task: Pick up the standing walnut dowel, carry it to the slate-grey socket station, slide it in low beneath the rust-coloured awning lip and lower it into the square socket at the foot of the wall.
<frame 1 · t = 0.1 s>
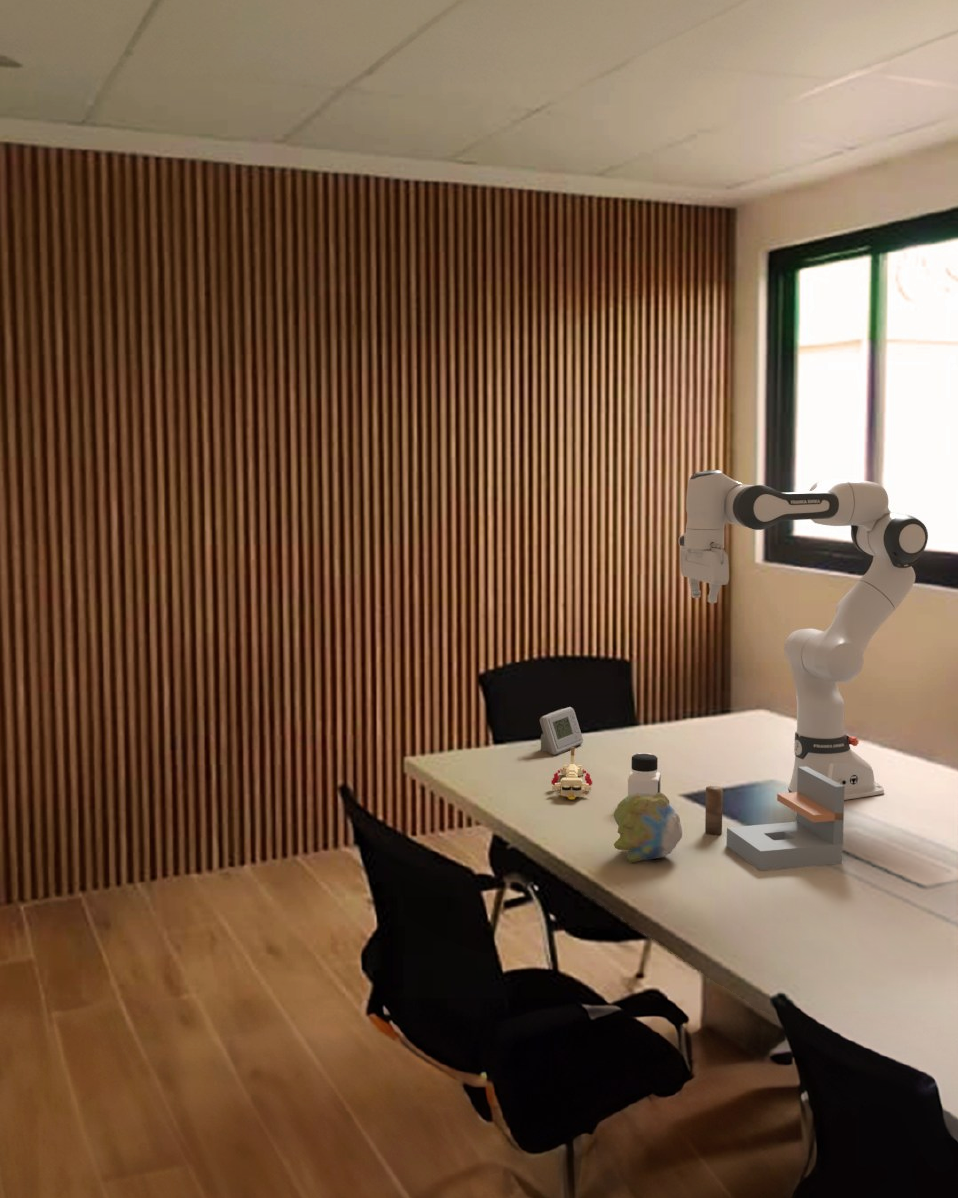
hand: (704, 600, 298), 48 cm above the table, fingers open, 8 cm apart
digital clock: (561, 750, 354), on the table
relief earth globe: (640, 858, 264), on the table
station: (778, 854, 265), on the table
cream toy figure: (572, 789, 316), on the table
peg: (713, 832, 279), on the table
medicine bottle: (644, 805, 301), on the table
light bulb box: (818, 834, 279), on the table
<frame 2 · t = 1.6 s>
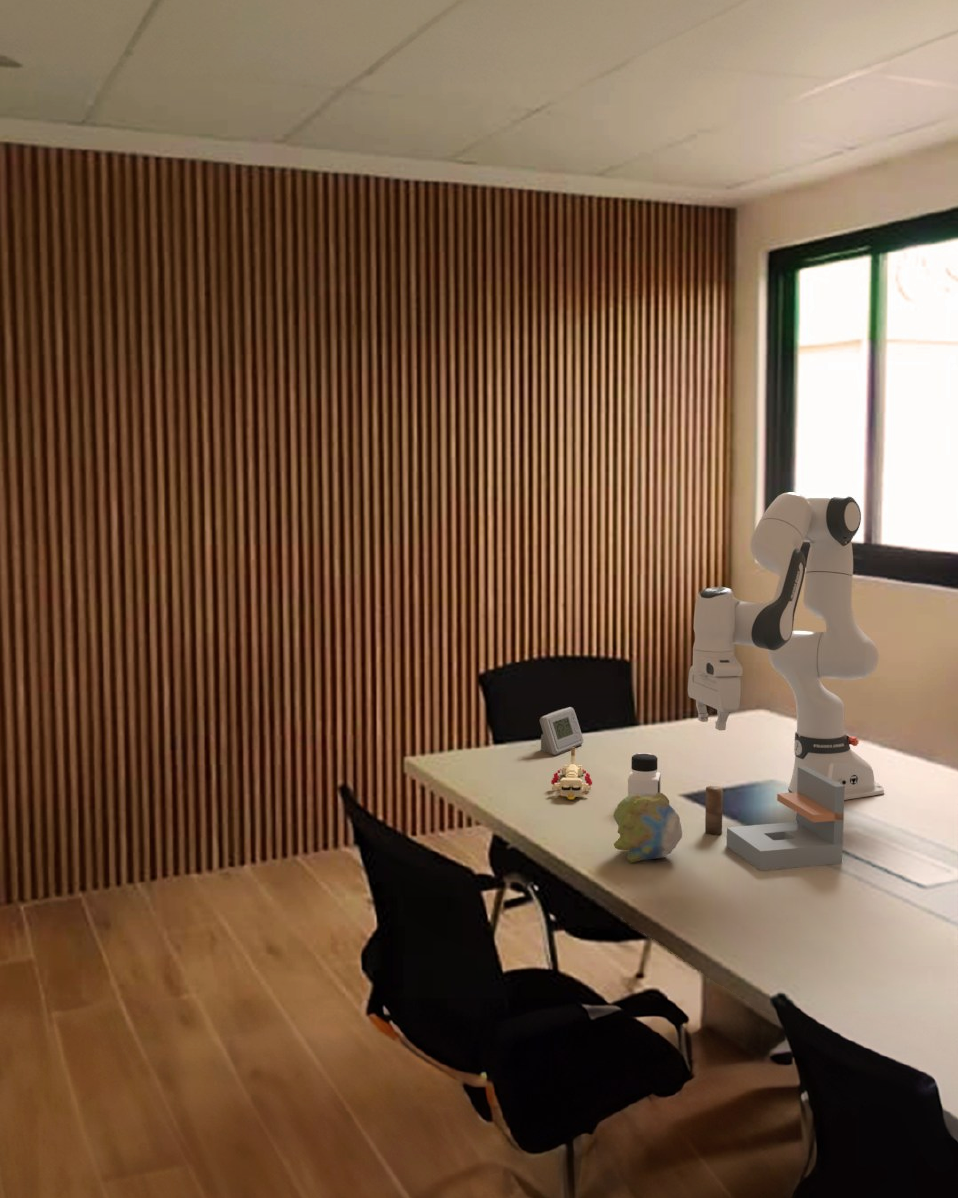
hand: (711, 725, 279), 23 cm above the table, fingers open, 8 cm apart
nothing on the table moved.
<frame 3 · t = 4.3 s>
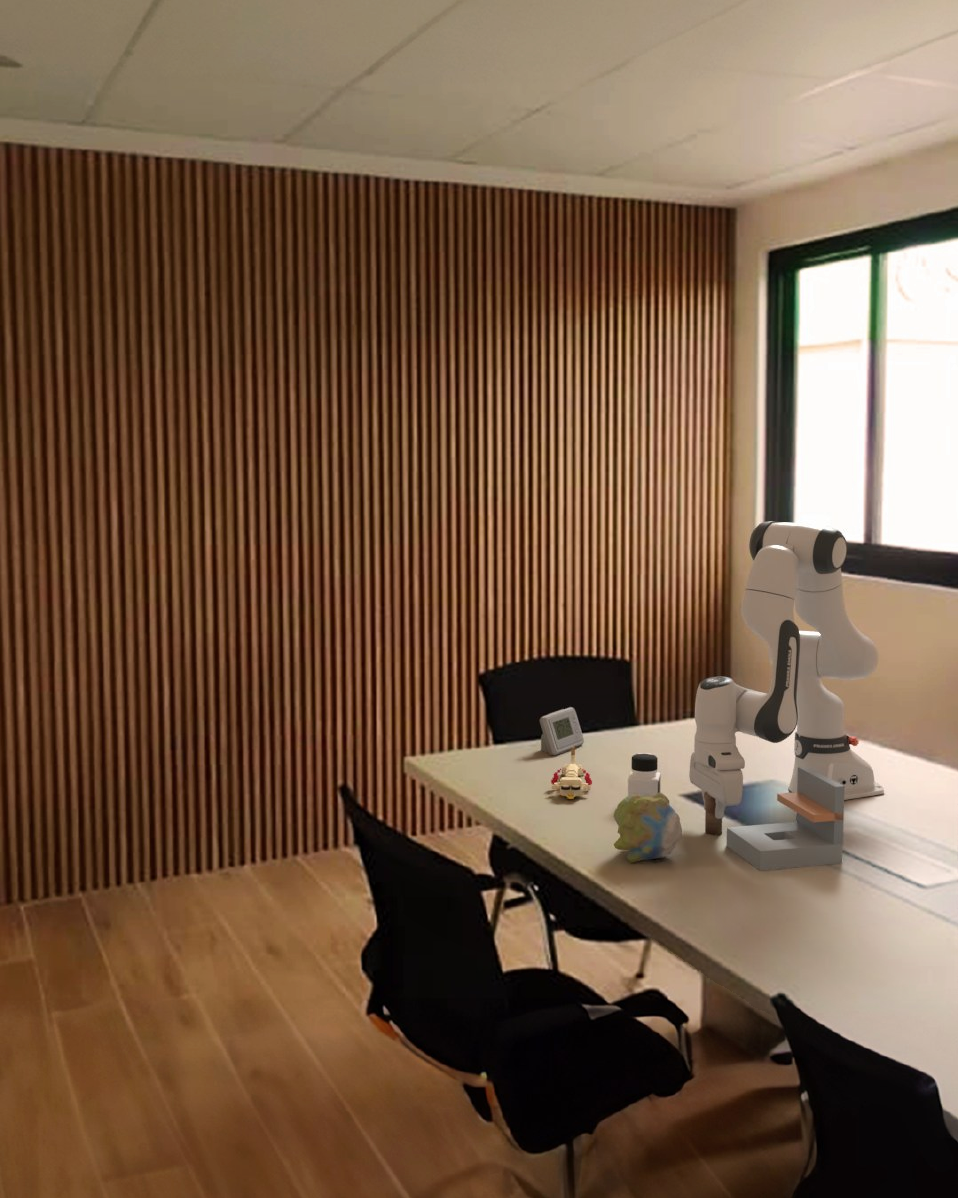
hand: (713, 814, 279), 4 cm above the table, fingers closed on peg, 4 cm apart
peg: (713, 832, 279), on the table, touching gripper
everything else where it was.
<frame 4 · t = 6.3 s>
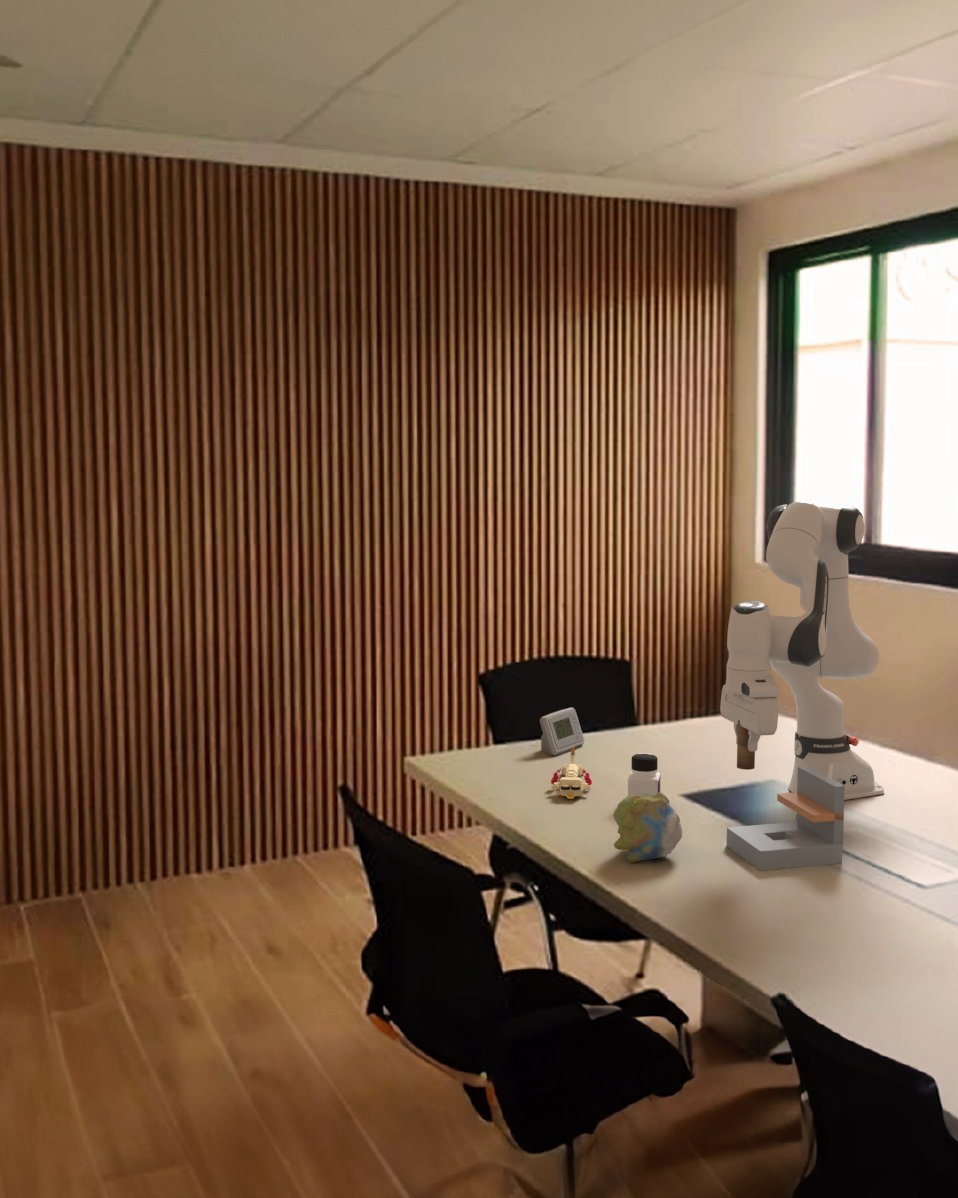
hand: (746, 748, 264), 22 cm above the table, fingers closed on peg, 4 cm apart
peg: (745, 767, 264), point 18 cm above the table, touching gripper
everything else where it was.
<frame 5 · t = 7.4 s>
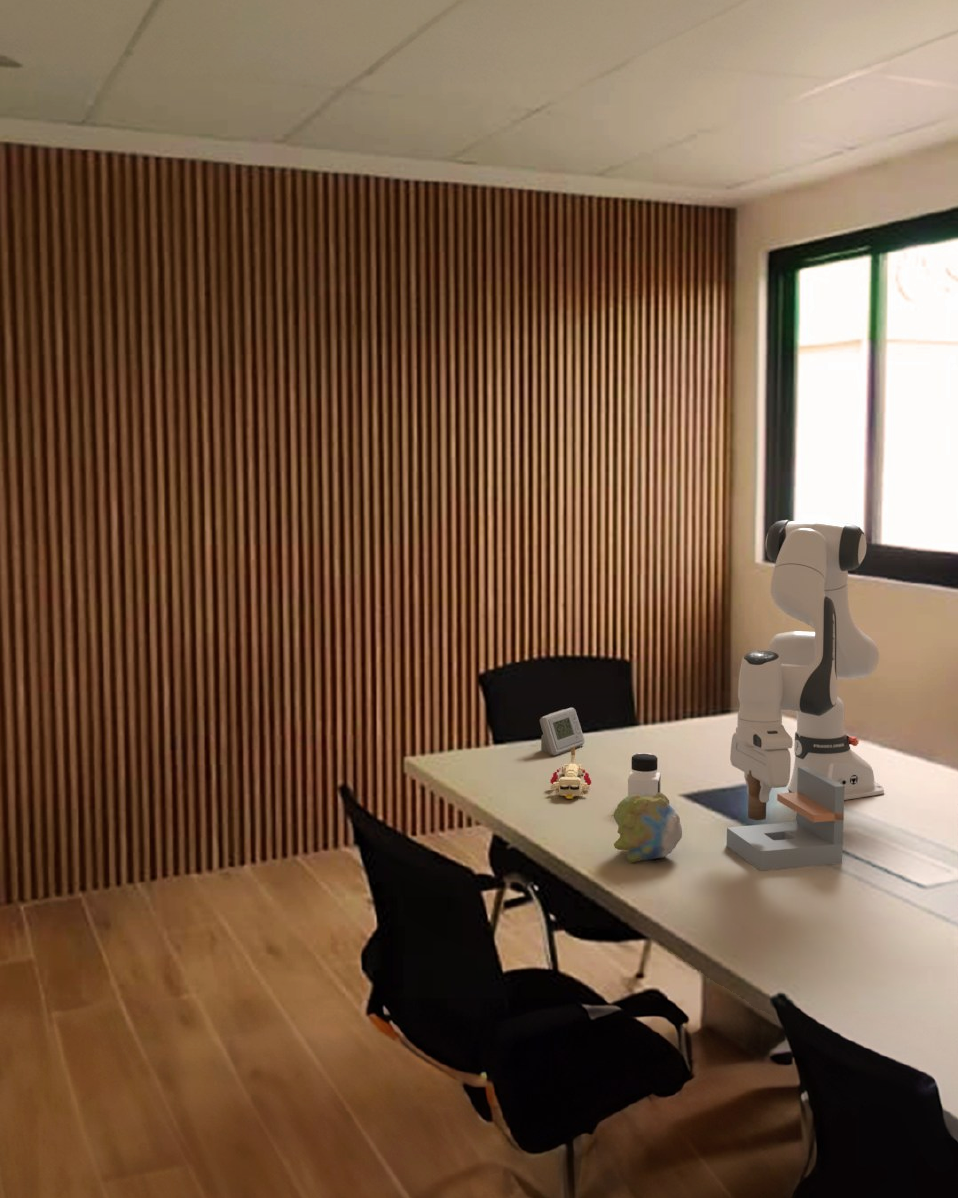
hand: (757, 798, 262), 12 cm above the table, fingers closed on peg, 4 cm apart
peg: (756, 817, 262), point 8 cm above the table, touching gripper
everything else where it was.
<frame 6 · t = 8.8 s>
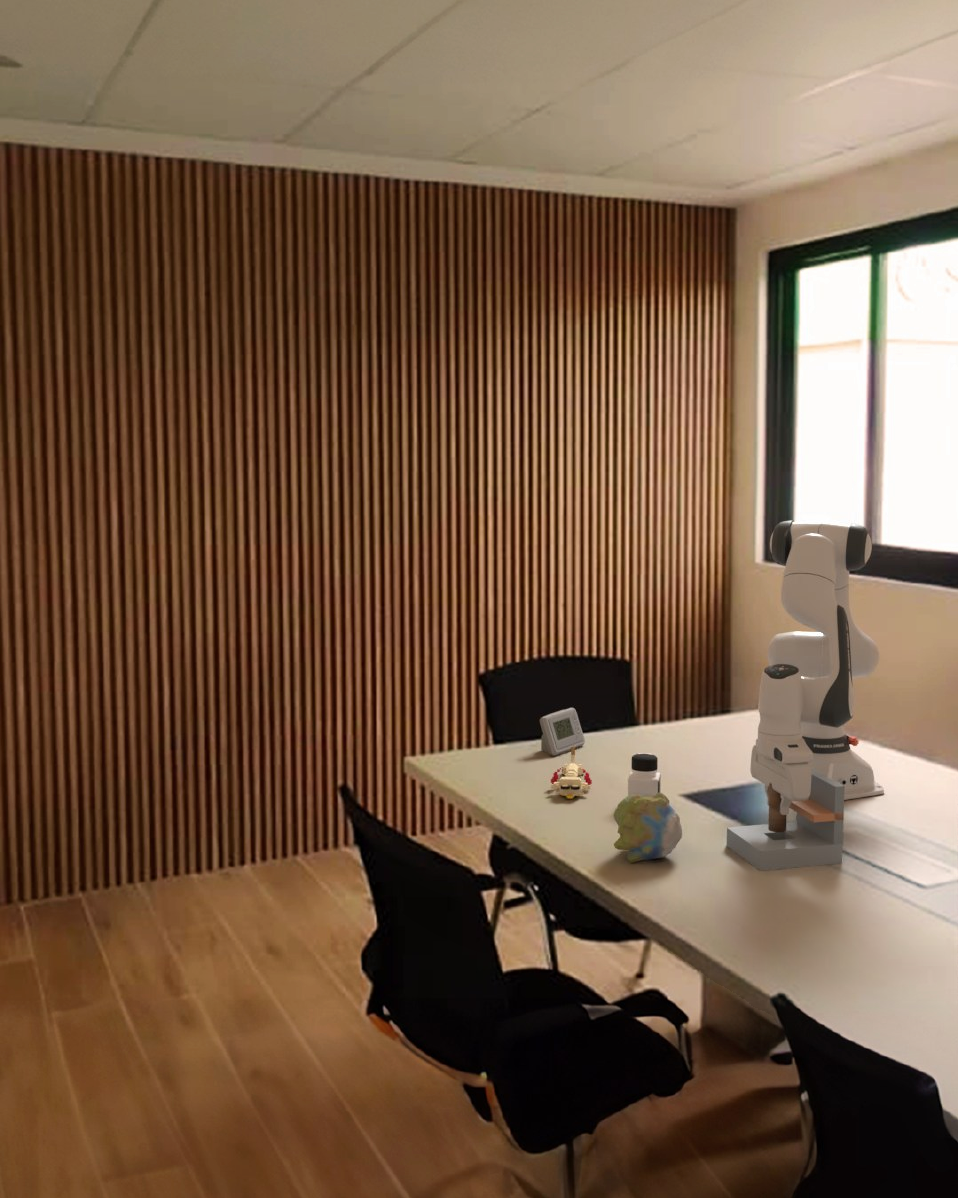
hand: (778, 810, 263), 9 cm above the table, fingers closed on peg, 4 cm apart
peg: (777, 829, 264), point 5 cm above the table, touching gripper
everything else where it was.
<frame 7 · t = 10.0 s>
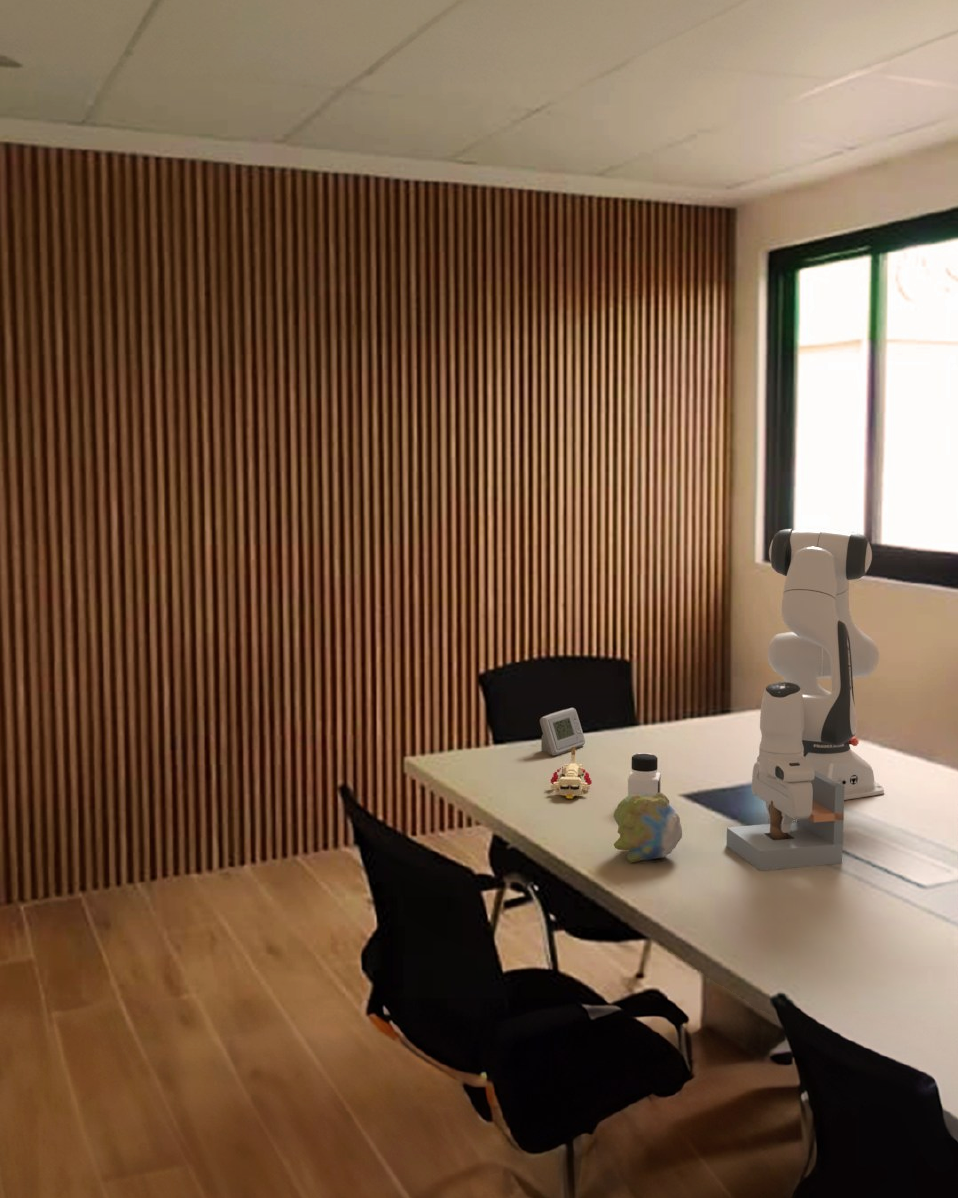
hand: (779, 828, 264), 6 cm above the table, fingers closed on peg, 3 cm apart
peg: (778, 847, 264), point 2 cm above the table, touching gripper
when the fingers open (6 cm above the table, at t = 10.2 s): peg drops 1 cm, resting on station.
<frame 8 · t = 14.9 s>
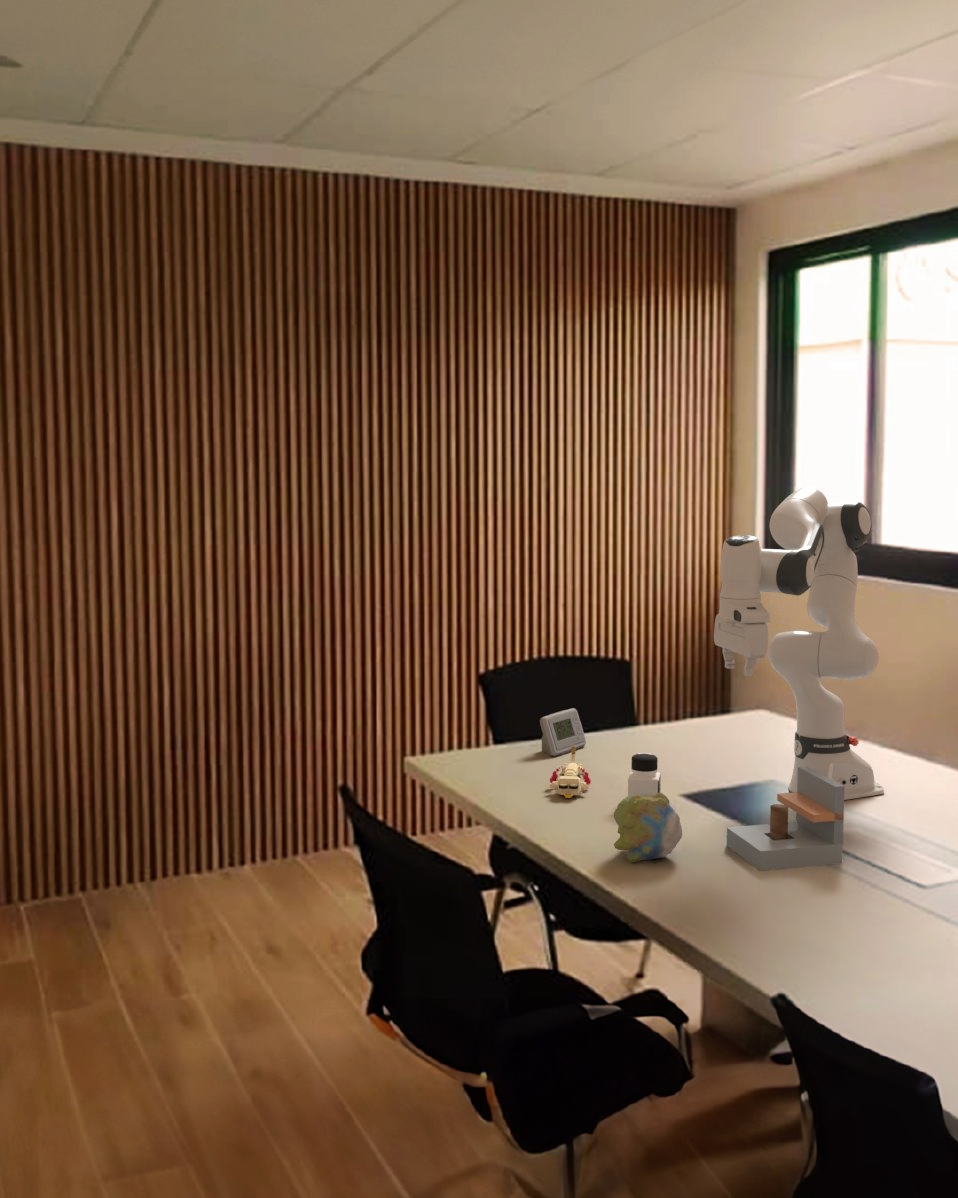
hand: (738, 672, 283), 34 cm above the table, fingers open, 8 cm apart
peg: (778, 853, 265), resting on station
at the end: peg 0.1 cm off-centre on the station, point 0.2 cm above the station's base; peg tilted 0°; the gripper is holding nothing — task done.
